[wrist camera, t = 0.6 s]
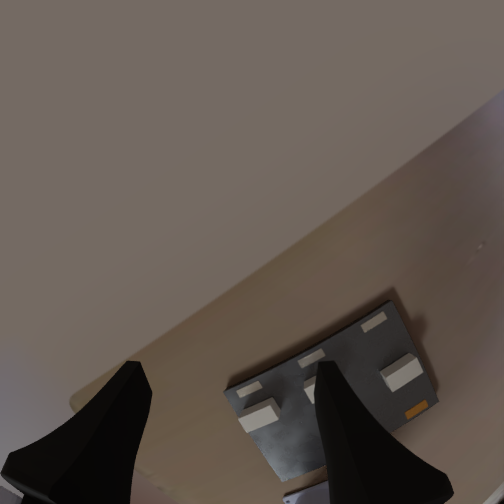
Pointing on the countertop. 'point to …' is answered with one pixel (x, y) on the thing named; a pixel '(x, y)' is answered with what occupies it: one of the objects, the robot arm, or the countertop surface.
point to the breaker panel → (357, 375)
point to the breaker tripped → (401, 372)
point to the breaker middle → (310, 388)
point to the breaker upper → (259, 415)
